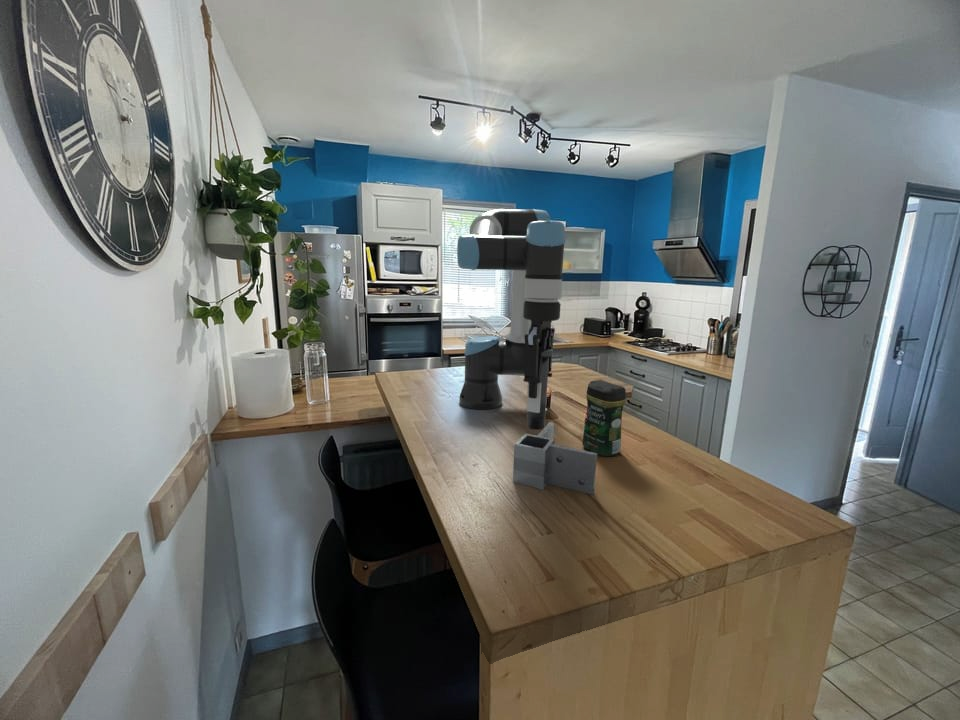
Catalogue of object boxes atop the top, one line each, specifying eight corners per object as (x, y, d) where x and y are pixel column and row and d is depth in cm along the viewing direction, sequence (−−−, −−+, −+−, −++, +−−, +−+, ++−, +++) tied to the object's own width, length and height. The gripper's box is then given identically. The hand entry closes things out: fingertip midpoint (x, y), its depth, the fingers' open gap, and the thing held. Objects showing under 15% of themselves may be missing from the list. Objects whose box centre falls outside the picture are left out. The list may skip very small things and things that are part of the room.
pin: (527, 420, 95) (531, 346, 91) (551, 424, 92) (556, 348, 89) (519, 428, 90) (522, 350, 86) (544, 432, 87) (548, 353, 84)
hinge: (536, 452, 107) (538, 420, 105) (604, 467, 100) (607, 432, 98) (512, 482, 92) (514, 444, 90) (590, 501, 85) (593, 461, 83)
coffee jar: (576, 446, 112) (581, 379, 108) (597, 440, 116) (603, 376, 112) (604, 460, 104) (610, 389, 100) (625, 453, 108) (632, 385, 104)
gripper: (537, 297, 94) (532, 395, 99) (509, 301, 79) (505, 417, 84) (570, 298, 91) (563, 400, 96) (547, 303, 76) (541, 423, 81)
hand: (536, 408), depth 90 cm, fingers closed on pin, 4 cm apart
